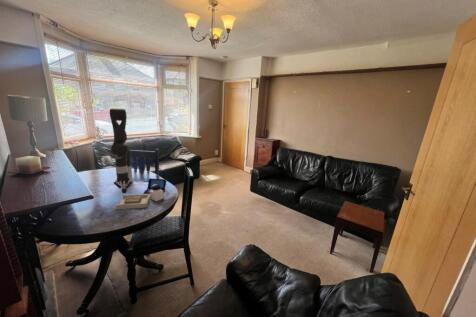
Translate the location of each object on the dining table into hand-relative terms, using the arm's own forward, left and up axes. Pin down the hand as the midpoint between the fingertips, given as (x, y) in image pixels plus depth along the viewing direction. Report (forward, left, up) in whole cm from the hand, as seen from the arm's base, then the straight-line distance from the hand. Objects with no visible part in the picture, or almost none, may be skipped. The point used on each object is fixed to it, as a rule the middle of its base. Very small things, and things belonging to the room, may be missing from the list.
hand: (124, 192), depth 152 cm
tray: (0, +6, -8) cm, 10 cm away
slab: (0, +1, -7) cm, 7 cm away
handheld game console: (-20, +18, -9) cm, 29 cm away
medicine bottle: (-5, +22, -9) cm, 24 cm away
